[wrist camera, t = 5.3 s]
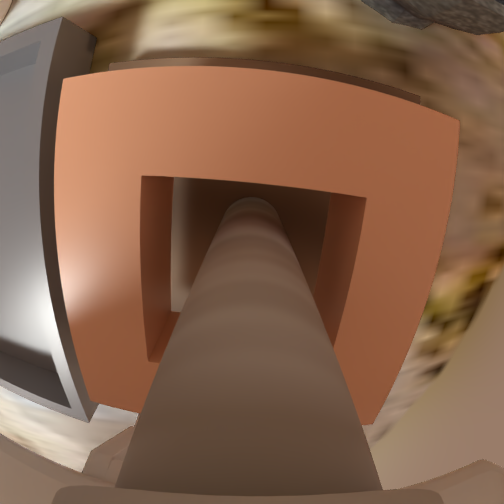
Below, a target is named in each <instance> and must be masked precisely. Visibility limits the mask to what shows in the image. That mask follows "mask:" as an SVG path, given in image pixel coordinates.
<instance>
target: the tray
mask: <svg viewBox="0 0 504 504" xmlns="http://www.w3.org/2000/svg"><path fill="white" fill-rule="evenodd" d="M96 39H97V38H96V37H94V36H93V35H91V34H90V33H88V32H87V31H85V30H83V29H82V28H80V27H79V26H77V25H75V24H74V23H72V22H71V21H69V20H67V19H66V18H64V17H61V18H58V19H55V20H52V21H49V22H46V23H43V24H41V25H38V26H35V27H33V28H30V29H28V30H26V31H23V32H21V33H19V34H16V35H14V36H12V37H10V38H8V39H5V40H3V41H1V42H0V386H2V387H4V388H6V389H8V390H10V391H12V392H14V393H16V394H18V395H20V396H22V397H24V398H26V399H29V400H31V401H33V402H35V403H38V404H40V405H42V406H45V407H47V408H49V409H52V410H54V411H57V412H60V413H62V414H65V415H68V416H70V417H73V418H76V419H79V420H82V421H85V422H88V423H89V422H90V420H91V418H92V416H93V414H94V412H95V410H96V408H97V406H98V405H99V403H96V402H93V401H90V398H89V395H88V392H87V389H86V386H85V383H84V380H83V376H82V373H81V370H80V366H79V363H78V359H77V355H76V352H75V348H74V344H73V340H72V336H71V331H70V327H69V322H68V317H67V312H66V307H65V302H64V296H63V290H62V284H61V277H60V269H59V261H58V252H57V242H56V229H55V209H54V162H55V143H56V130H57V120H58V111H59V103H60V96H61V90H62V83H63V79H65V78H70V77H75V76H81V75H86V74H90V68H91V63H92V58H93V53H94V48H95V44H96Z"/></svg>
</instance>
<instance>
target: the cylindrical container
mask: <svg viewBox="0 0 504 504" xmlns="http://www.w3.org/2000/svg"><path fill="white" fill-rule="evenodd" d="M11 3H12V0H0V24H1V23H2V21H3V19H4V17H5V16H6V14H7V12H8V10H9V7H10V5H11Z"/></svg>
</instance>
